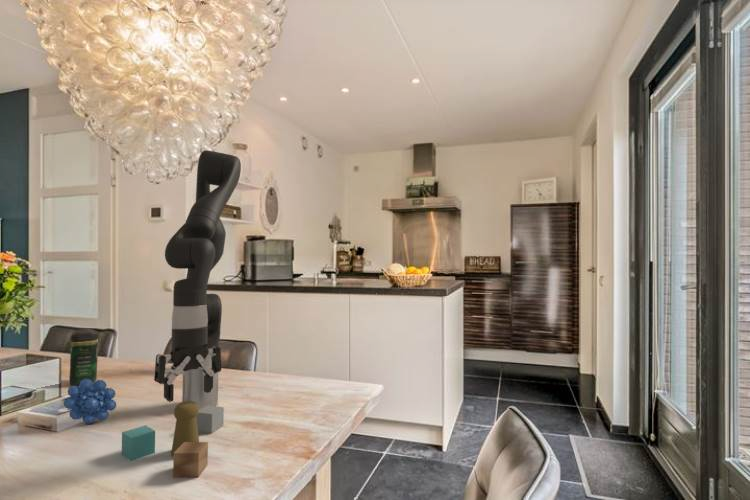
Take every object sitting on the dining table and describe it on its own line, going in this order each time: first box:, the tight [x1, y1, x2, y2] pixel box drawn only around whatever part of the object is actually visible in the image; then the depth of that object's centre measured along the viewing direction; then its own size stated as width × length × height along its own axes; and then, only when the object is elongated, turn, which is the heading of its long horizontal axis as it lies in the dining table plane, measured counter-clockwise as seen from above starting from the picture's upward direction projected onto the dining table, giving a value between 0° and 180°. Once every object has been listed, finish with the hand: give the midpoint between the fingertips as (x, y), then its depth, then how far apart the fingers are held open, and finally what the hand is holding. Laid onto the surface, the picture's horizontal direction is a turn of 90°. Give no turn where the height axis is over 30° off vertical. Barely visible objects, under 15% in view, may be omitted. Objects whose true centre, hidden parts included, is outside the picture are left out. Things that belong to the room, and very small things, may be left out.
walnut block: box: [172, 441, 209, 479], centre depth 87 cm, size 5×5×5 cm
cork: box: [170, 401, 200, 458], centre depth 95 cm, size 6×6×11 cm
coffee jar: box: [69, 328, 99, 387], centre depth 147 cm, size 10×8×19 cm
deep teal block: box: [121, 425, 156, 462], centre depth 94 cm, size 5×5×5 cm
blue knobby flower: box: [63, 379, 117, 425], centre depth 110 cm, size 12×7×12 cm, turn 128°
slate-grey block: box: [196, 405, 225, 434], centre depth 108 cm, size 5×5×5 cm
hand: (189, 396), depth 96 cm, fingers open, 8 cm apart
